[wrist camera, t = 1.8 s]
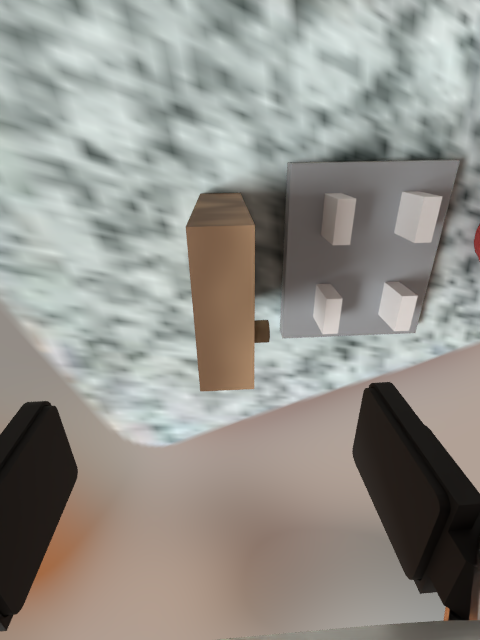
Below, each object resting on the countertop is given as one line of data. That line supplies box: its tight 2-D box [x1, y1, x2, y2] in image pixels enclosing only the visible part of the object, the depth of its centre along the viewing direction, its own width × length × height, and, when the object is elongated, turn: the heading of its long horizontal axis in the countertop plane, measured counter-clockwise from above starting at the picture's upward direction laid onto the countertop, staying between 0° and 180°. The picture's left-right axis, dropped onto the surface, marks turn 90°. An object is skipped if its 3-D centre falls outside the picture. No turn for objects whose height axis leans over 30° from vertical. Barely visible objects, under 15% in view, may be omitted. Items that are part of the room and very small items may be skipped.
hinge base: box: [280, 160, 460, 338], centre depth 26 cm, size 12×14×4 cm
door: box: [186, 193, 270, 391], centre depth 22 cm, size 4×9×12 cm, turn 1°
